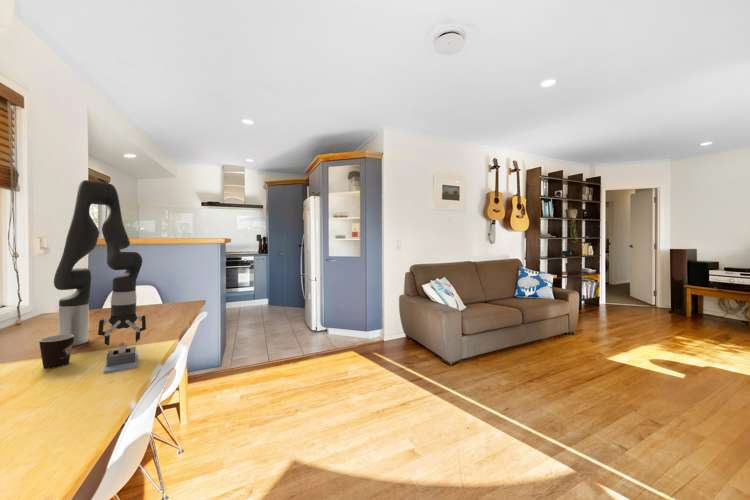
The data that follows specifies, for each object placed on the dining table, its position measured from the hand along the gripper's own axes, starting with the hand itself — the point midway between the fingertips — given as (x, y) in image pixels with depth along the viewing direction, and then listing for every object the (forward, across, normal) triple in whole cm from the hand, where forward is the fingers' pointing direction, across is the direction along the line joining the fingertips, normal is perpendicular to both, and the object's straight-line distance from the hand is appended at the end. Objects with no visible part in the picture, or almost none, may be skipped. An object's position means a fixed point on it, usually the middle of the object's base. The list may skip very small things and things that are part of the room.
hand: (122, 343), depth 116 cm
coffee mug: (+6, +17, -5) cm, 19 cm away
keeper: (+6, 0, +6) cm, 9 cm away
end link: (+5, 0, +3) cm, 6 cm away
